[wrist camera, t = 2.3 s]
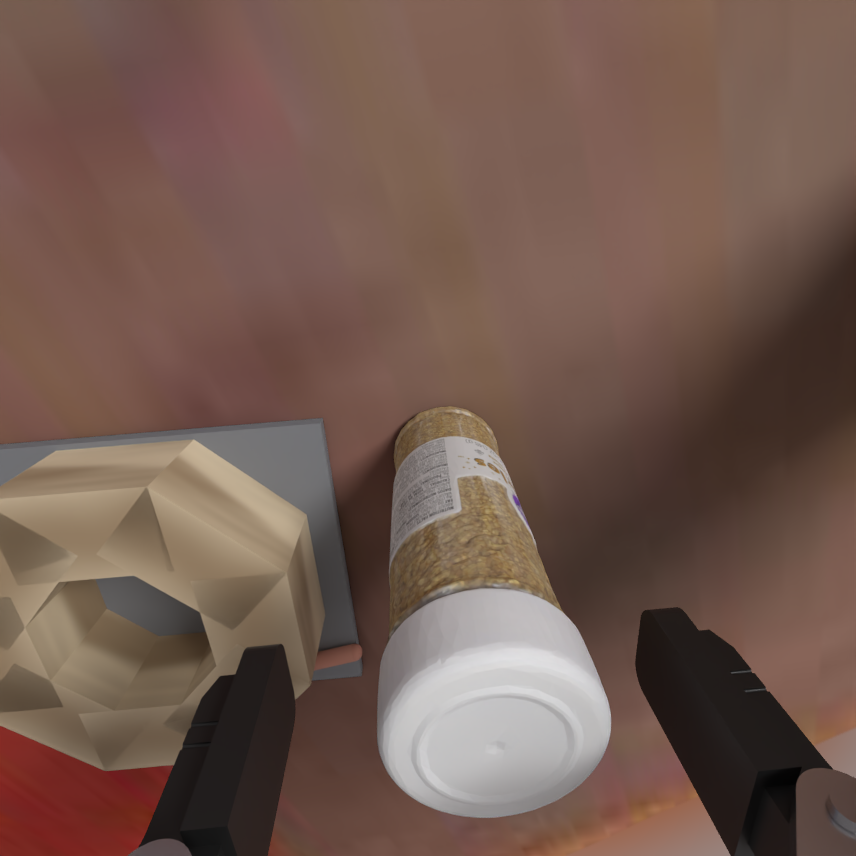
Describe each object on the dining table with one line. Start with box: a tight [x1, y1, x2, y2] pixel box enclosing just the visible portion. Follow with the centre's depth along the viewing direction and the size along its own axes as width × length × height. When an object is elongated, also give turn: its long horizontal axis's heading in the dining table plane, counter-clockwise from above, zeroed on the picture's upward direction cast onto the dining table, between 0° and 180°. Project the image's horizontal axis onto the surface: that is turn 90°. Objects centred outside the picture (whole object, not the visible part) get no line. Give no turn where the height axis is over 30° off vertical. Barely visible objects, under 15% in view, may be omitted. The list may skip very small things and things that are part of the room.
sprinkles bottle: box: [377, 406, 611, 818], centre depth 15 cm, size 5×5×14 cm
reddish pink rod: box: [314, 644, 362, 671], centre depth 25 cm, size 13×1×1 cm, turn 104°
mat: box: [0, 418, 363, 681], centre depth 23 cm, size 16×14×1 cm
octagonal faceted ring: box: [0, 439, 325, 771], centre depth 21 cm, size 14×14×4 cm
